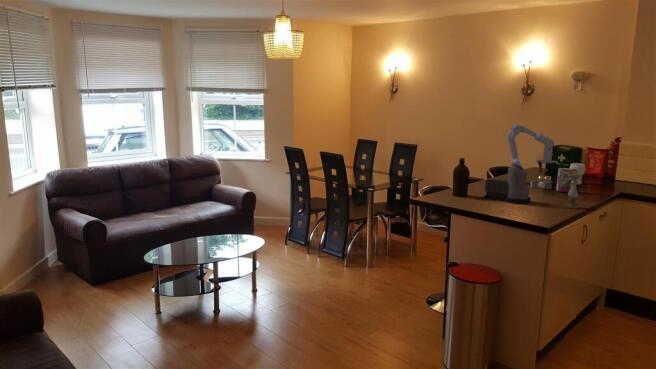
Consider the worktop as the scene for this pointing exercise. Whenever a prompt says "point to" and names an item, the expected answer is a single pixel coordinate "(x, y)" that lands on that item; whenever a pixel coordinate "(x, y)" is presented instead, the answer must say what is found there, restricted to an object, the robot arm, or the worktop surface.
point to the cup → (578, 170)
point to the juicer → (509, 187)
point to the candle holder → (573, 192)
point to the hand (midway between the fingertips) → (546, 172)
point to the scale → (541, 184)
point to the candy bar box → (564, 179)
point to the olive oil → (460, 179)
